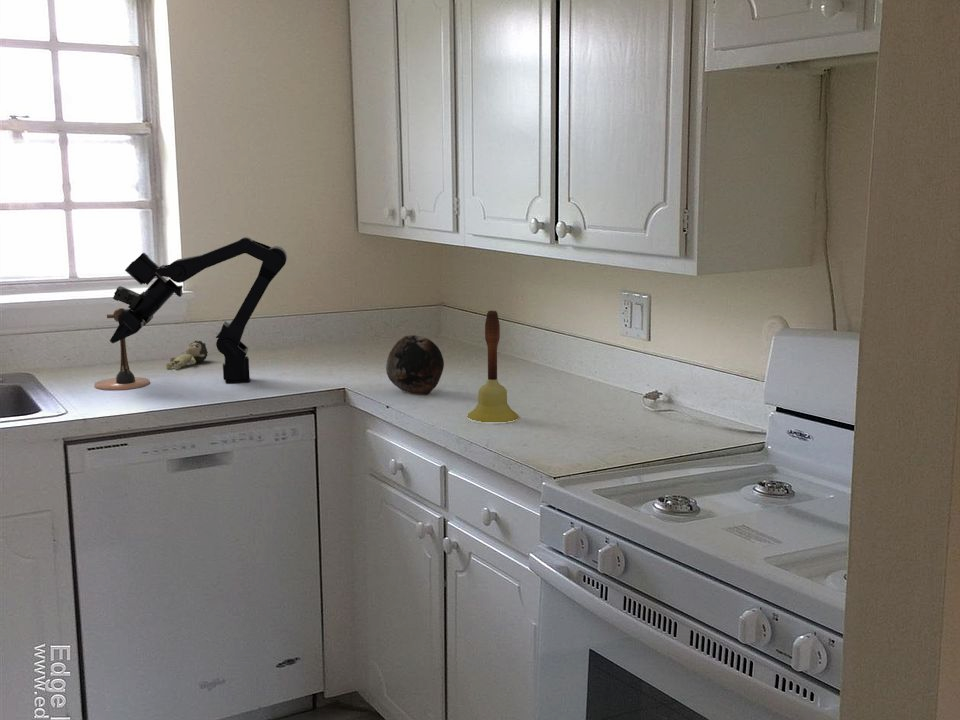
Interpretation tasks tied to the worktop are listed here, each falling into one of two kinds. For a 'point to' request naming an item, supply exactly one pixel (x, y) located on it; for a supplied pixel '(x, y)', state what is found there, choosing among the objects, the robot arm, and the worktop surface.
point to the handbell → (492, 381)
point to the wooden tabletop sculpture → (122, 356)
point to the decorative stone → (415, 364)
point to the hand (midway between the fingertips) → (114, 339)
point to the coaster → (112, 385)
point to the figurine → (190, 355)
